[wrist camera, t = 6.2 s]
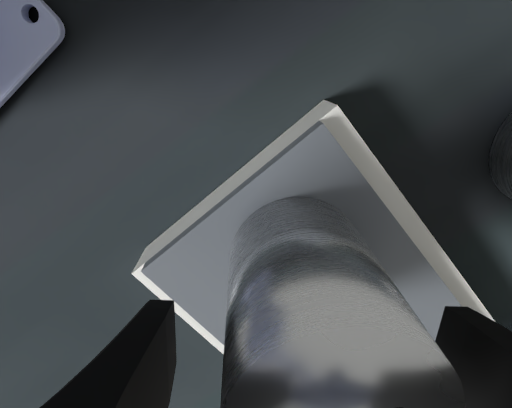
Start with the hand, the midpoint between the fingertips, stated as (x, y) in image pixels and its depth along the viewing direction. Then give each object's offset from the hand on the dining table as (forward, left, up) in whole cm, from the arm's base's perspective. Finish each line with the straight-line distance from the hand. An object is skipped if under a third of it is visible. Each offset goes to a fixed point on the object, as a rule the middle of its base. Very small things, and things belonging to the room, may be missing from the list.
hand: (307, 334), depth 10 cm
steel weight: (0, 0, -3) cm, 3 cm away
